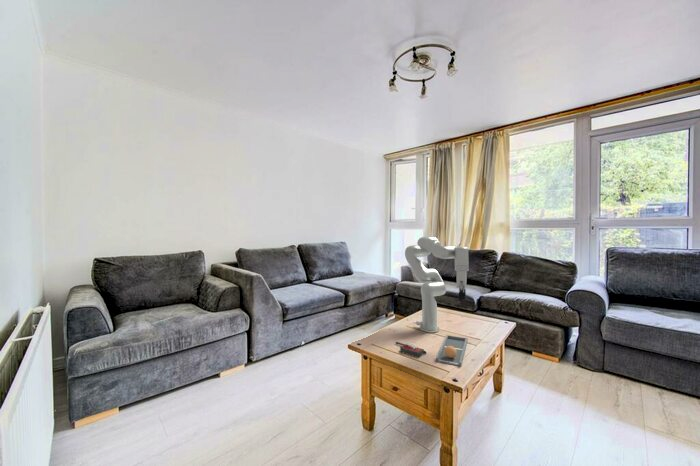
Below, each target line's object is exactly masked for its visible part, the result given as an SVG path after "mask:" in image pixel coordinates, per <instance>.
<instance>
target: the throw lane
mask: <svg viewBox="0 0 700 466" xmlns="http://www.w3.org/2000/svg"><path fill="white" fill-rule="evenodd" d="M467 344H468V338H467V337H462V336H456V335H451V334H446V336H445V337H444V340H443V342H442V344H441V346H440V349H439V350H438V353H437V355H436V359H435V360H436V361H435V362H436V363H442V364H446V365H450V366H456V367H462V366H463V365H462V364H463V361H464V357H465V353H466V348H467V346H468V345H467ZM447 346H452V347H454V348H455V349H456V352H457V353H456V356H455V357H454V358H448V357H447V356H446V355H445V352H444V350H445V348H446V347H447Z"/></svg>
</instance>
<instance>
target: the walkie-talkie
mask: <svg viewBox="0 0 700 466" xmlns="http://www.w3.org/2000/svg"><path fill="white" fill-rule="evenodd" d="M395 344H396V345H400V348H399V350H400V353H402V352H404V353H403V354H405V353H407V354H406V355H409V354H410V355H409V356H412V355H413V356H412V357H416V358H421V357H422V356H423V355H425V354H427V351H426V350H425V349H424V348H421V347H418V346H415V345H414V344H412V343H407V342H406V343H403V342H399V341H395Z"/></svg>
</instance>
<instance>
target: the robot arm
mask: <svg viewBox="0 0 700 466" xmlns="http://www.w3.org/2000/svg"><path fill="white" fill-rule="evenodd" d="M430 254H432V256H433V257H436V258H439V259H440V260H441V259H442V260H447V259H448V260H449V259H454V271H455V272H456V289H458V299H459V300H461V301H462V300H463V301H464V300H466V295H467V294H466V293H467V292H466V287H467V276H468V275H467V272H469V270H470V269H469V267H470V265H469V264H470V263H469V262H470V261H469V248H468V246H467V247H466V246H457V245H447V246H446V245H445V246H443V245H441V242H440V240H438V238H437V237H436V236H422V237H420V238H418V239H417V243H416V244H413V245H412V244H411V245H409V246H407V247H406V248H405V251H404V257H405V260H406V262H407V264H408V265H409V266H410V268H411V270H412V271H413V273H414V276H415V277H416V279H417V281H418V283H420V284H421V283H422V285H421V286H420V294H421V303H422V305H421V308H422V309H421V311H422V316H421V320H420V321H418V320H416V321H415V324H416V326H419V330H420V331H422V332H425V333H434V334H435V333H438V332H439V331H440V327H438V305H437V304H438V303H437V300H436V298H435V297H440V296H443V295H445V294H446V292H447V286H446V284H445V282H444V280H443V279H442V276H441V275H440V273H439V272H438V270H436V269H435V268H431V267H430V268H427V267H425V265H424V263H423V262H422V260H420V259H419V258H425V257H427V256H429V255H430Z"/></svg>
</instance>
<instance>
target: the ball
mask: <svg viewBox="0 0 700 466" xmlns="http://www.w3.org/2000/svg"><path fill="white" fill-rule="evenodd" d="M444 352H445V355H446V356H447V357H448V358H454V357H455V356H456V353H457V352H456V349H455V348H454V347H452V346H447V347H446V348H445V350H444Z"/></svg>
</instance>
